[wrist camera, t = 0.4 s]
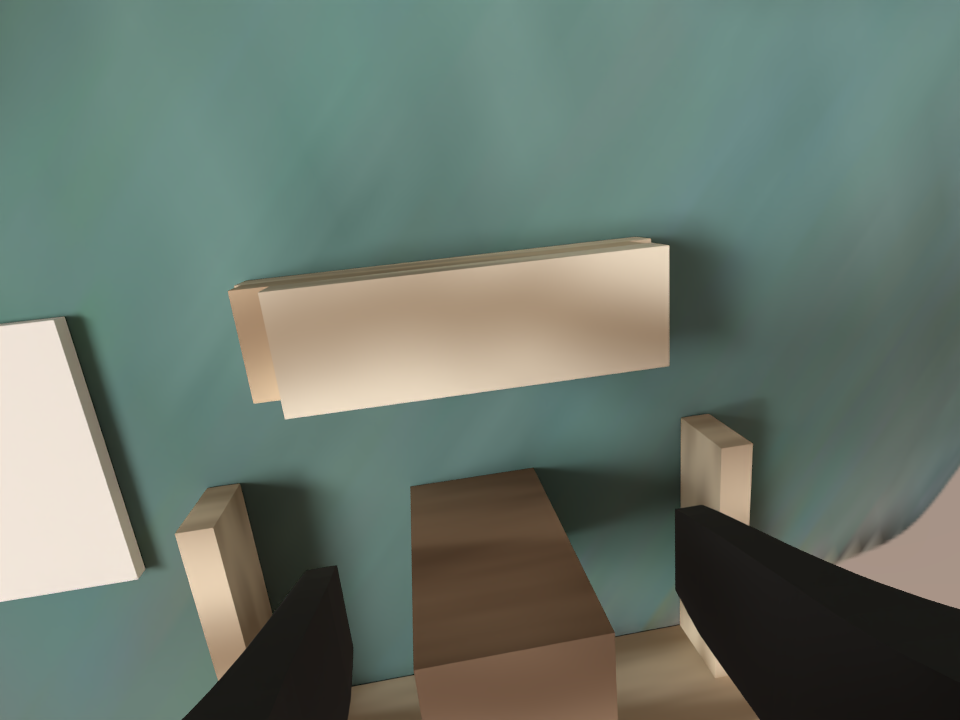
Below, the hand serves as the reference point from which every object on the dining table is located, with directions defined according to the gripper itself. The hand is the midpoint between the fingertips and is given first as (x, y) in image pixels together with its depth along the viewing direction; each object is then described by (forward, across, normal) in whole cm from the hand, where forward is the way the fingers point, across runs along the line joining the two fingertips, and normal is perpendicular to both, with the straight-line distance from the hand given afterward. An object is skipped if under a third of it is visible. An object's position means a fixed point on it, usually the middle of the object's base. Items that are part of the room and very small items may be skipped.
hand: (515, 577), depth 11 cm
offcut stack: (+10, 0, -4) cm, 11 cm away
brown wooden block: (+10, 0, +5) cm, 11 cm away
